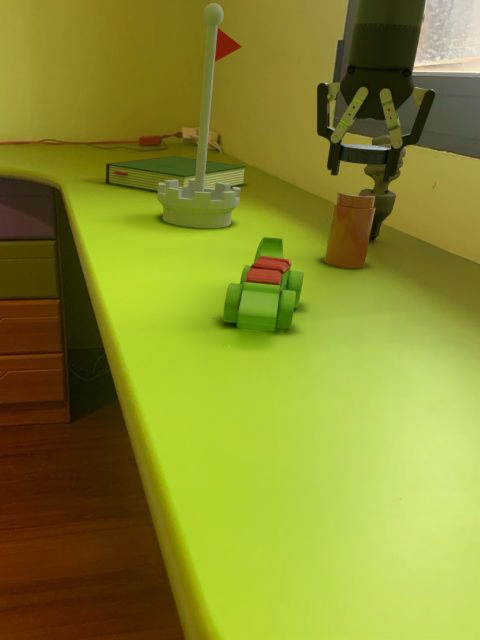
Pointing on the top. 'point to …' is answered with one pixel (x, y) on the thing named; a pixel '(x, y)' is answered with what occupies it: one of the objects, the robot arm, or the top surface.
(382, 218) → the light bulb
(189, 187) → the flag stand
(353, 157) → the lid
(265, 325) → the toy crocodile
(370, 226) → the jar
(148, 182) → the hardcover book
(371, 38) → the robot arm
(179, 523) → the top surface
